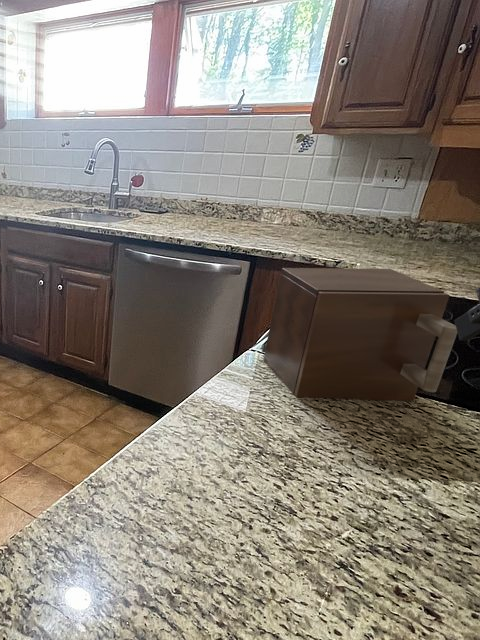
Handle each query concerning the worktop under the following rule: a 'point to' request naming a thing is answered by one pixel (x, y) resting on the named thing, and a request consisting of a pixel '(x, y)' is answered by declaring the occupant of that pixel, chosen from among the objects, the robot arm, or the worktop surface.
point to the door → (375, 345)
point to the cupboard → (299, 306)
